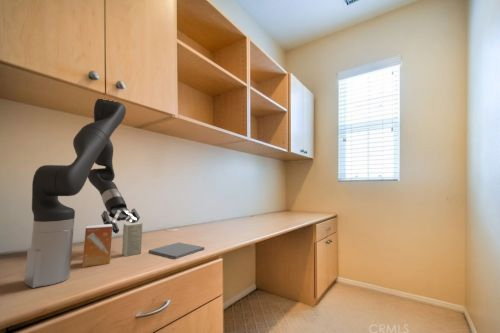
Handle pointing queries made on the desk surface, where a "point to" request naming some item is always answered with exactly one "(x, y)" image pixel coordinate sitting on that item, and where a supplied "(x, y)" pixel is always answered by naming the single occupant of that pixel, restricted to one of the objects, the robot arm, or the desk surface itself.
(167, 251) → the rubber mat
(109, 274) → the desk surface
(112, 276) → the desk surface
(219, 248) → the desk surface
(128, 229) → the skincare box
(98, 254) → the small box
